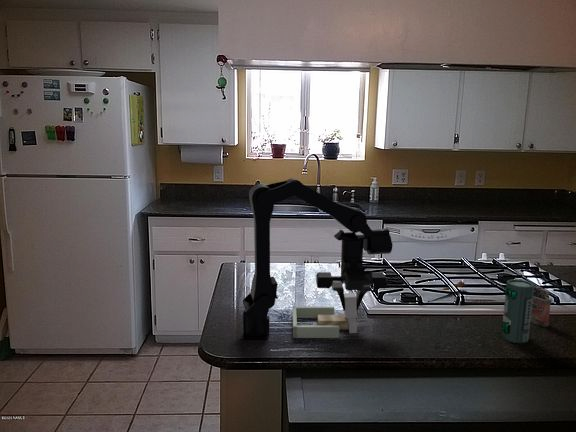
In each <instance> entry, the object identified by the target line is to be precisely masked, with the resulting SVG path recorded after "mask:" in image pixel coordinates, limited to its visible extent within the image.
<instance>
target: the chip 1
mask: <svg viewBox="0 0 576 432" xmlns="http://www.w3.org/2000/svg"><path fill="white" fill-rule="evenodd" d="M317 326H333V317H332V315H318V318H317Z"/></svg>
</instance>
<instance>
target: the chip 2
mask: <svg viewBox="0 0 576 432" xmlns="http://www.w3.org/2000/svg"><path fill="white" fill-rule="evenodd" d="M332 317H333V326H339V330H349V329H348V319H347V318H346V317H345V314H334V315H332Z"/></svg>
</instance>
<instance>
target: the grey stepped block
mask: <svg viewBox="0 0 576 432" xmlns="http://www.w3.org/2000/svg"><path fill="white" fill-rule="evenodd" d="M344 300H345V311H344V315H345V317H346V318H347V319H348V329H347V330H348V332H349V334H357V333H358V326H357V325H358V322H357V319H356V318H358V311H357V307H356V293H355V292H347V293H345V292H344Z"/></svg>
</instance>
